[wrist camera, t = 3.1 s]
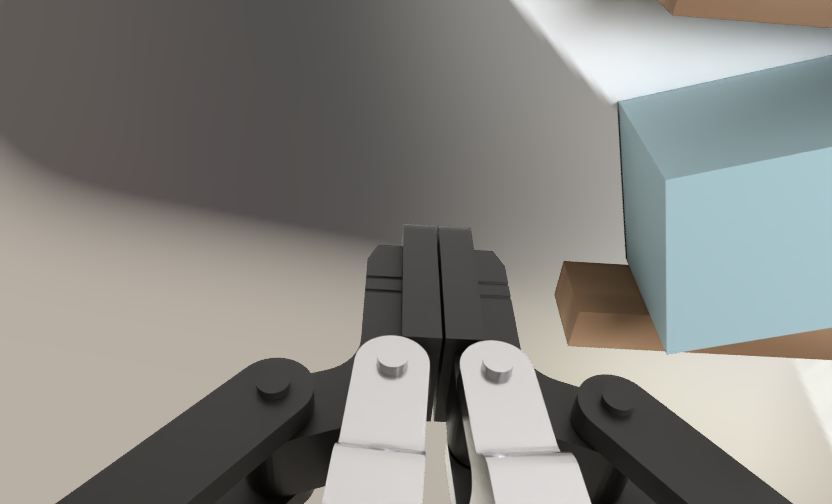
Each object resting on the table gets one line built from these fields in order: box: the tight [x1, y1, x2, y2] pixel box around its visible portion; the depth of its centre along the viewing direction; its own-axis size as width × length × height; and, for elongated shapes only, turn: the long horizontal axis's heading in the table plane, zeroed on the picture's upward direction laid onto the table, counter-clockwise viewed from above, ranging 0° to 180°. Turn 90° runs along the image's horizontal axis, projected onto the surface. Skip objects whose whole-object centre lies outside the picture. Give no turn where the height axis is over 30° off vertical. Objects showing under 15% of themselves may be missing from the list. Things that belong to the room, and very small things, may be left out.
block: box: [617, 55, 832, 354], centre depth 18 cm, size 6×10×4 cm, turn 104°
